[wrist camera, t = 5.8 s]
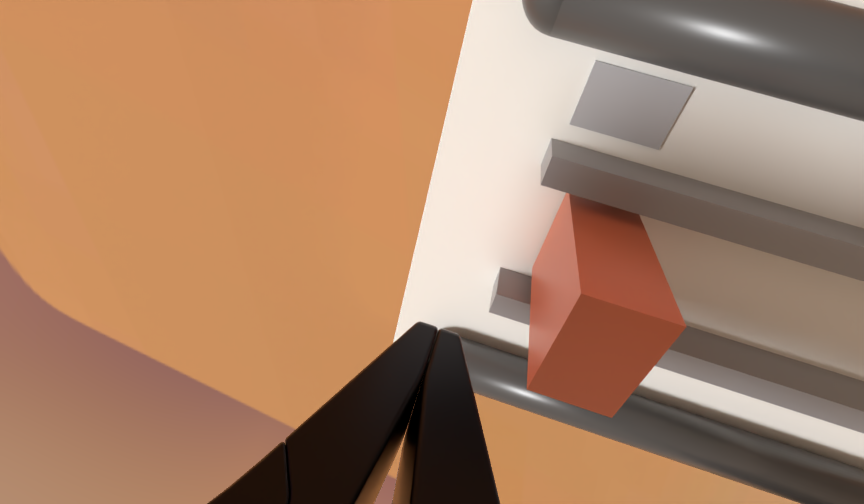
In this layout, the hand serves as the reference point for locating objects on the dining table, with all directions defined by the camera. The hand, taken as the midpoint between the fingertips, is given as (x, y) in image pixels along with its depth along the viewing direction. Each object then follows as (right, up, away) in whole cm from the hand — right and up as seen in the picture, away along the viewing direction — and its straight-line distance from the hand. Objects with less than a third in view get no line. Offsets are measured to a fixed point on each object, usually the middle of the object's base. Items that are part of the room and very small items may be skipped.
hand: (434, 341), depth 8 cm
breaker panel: (+10, +2, +6) cm, 12 cm away
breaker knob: (+5, +2, +5) cm, 7 cm away
